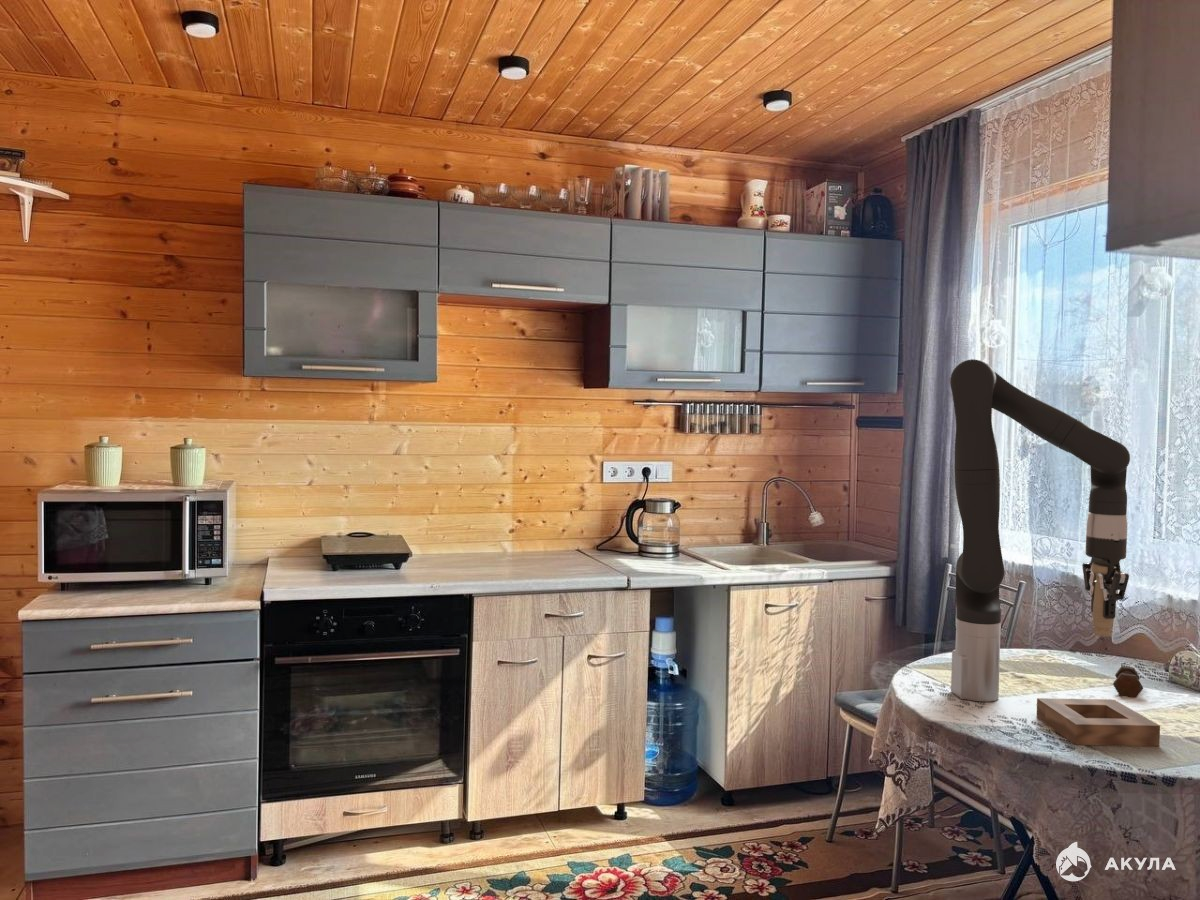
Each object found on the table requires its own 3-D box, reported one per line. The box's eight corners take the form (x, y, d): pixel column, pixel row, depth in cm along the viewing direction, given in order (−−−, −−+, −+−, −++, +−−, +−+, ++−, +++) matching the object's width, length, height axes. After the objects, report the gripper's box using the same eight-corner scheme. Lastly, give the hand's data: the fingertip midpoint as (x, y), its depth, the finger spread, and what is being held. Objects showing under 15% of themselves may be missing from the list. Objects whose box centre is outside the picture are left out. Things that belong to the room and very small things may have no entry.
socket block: (1075, 744, 175) (1076, 724, 175) (1036, 717, 191) (1037, 698, 191) (1159, 746, 175) (1160, 725, 175) (1113, 718, 191) (1114, 699, 191)
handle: (1090, 637, 191) (1093, 566, 191) (1088, 630, 197) (1091, 561, 196) (1116, 640, 189) (1120, 568, 189) (1113, 633, 195) (1116, 563, 194)
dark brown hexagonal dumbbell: (1130, 689, 218) (1131, 704, 205) (1109, 675, 221) (1109, 689, 207) (1145, 669, 217) (1147, 683, 204) (1124, 656, 219) (1124, 669, 206)
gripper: (1071, 530, 199) (1067, 608, 200) (1107, 539, 185) (1104, 623, 186) (1105, 531, 199) (1101, 608, 200) (1144, 540, 185) (1140, 624, 186)
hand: (1102, 615), depth 193 cm, fingers closed on handle, 4 cm apart
